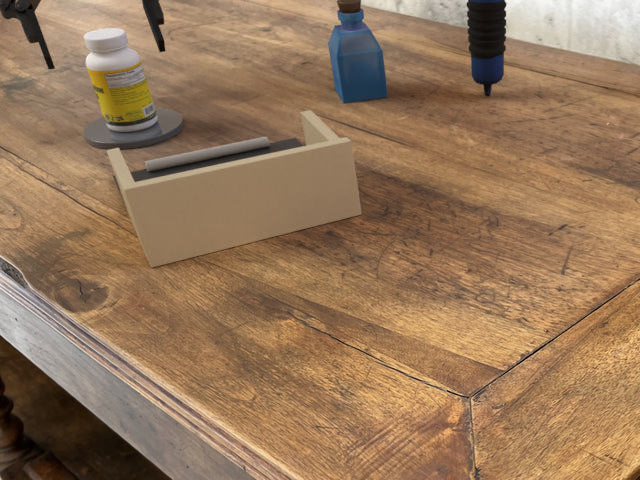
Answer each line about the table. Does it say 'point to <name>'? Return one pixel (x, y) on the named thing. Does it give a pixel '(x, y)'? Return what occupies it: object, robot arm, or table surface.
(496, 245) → the table surface
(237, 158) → the shallow cardboard crate
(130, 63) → the pill bottle
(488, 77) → the blue black cylinder
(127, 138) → the trivet
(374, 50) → the perfume bottle
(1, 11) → the robot arm
